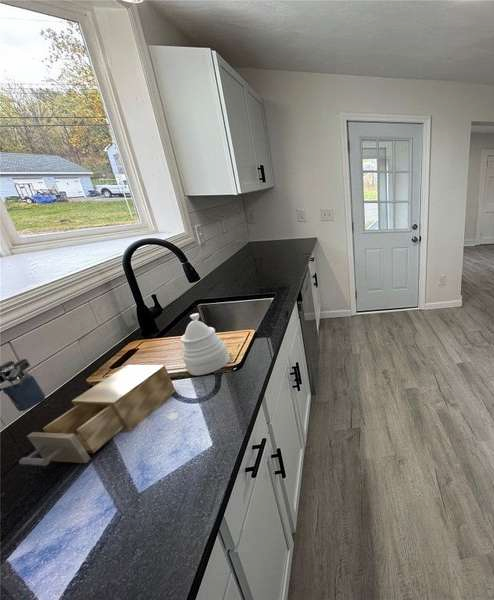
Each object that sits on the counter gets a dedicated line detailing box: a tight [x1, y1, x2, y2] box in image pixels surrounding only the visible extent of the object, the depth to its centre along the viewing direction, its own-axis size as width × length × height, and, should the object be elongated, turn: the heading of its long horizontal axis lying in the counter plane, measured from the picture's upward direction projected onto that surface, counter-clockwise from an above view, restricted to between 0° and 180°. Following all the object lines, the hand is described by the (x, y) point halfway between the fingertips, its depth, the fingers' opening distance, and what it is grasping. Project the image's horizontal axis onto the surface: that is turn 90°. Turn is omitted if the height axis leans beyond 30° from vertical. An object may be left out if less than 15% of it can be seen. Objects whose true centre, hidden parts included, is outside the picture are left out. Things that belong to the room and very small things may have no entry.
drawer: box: [18, 404, 125, 467], centre depth 75 cm, size 19×11×8 cm, turn 173°
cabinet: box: [71, 364, 177, 432], centre depth 87 cm, size 16×13×10 cm
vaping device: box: [0, 365, 46, 412], centre depth 73 cm, size 3×5×12 cm, turn 166°
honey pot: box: [180, 312, 231, 376], centre depth 105 cm, size 13×13×18 cm
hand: (19, 363), depth 75 cm, fingers closed on vaping device, 2 cm apart
